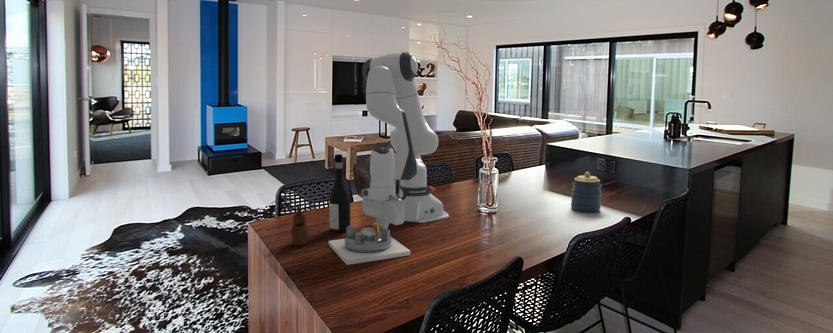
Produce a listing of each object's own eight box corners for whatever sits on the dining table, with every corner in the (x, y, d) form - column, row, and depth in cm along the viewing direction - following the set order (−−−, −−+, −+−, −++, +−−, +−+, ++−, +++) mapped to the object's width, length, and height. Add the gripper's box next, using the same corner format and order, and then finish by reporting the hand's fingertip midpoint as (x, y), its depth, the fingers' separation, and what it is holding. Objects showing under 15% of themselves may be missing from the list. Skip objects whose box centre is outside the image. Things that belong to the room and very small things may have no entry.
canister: (569, 211, 224) (571, 173, 222) (571, 205, 236) (573, 168, 233) (599, 214, 220) (602, 175, 217) (600, 207, 231) (603, 170, 229)
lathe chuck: (381, 235, 181) (381, 220, 180) (398, 248, 167) (398, 231, 166) (339, 241, 175) (338, 225, 174) (353, 255, 160) (352, 237, 159)
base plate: (386, 237, 186) (386, 233, 185) (410, 255, 166) (410, 250, 166) (328, 244, 176) (328, 240, 176) (347, 264, 157) (346, 260, 156)
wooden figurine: (293, 241, 180) (292, 201, 178) (309, 241, 181) (308, 201, 178) (290, 247, 173) (288, 205, 171) (307, 247, 174) (305, 205, 172)
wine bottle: (333, 234, 189) (331, 156, 184) (327, 229, 196) (325, 154, 191) (353, 231, 193) (352, 155, 188) (346, 226, 200) (345, 152, 195)
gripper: (408, 197, 166) (408, 236, 169) (373, 187, 182) (374, 223, 184) (393, 199, 162) (394, 240, 165) (359, 189, 178) (359, 226, 180)
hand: (383, 231), depth 174 cm, fingers closed
